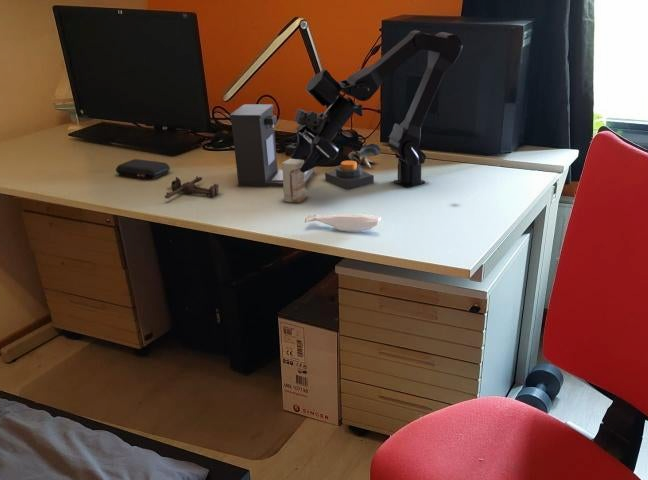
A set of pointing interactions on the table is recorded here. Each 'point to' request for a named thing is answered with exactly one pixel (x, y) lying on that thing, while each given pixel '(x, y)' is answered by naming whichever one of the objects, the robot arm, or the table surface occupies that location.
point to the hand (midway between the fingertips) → (296, 166)
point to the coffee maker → (257, 146)
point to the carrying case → (143, 168)
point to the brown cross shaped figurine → (191, 188)
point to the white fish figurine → (347, 221)
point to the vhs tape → (291, 149)
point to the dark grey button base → (349, 177)
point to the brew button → (348, 165)
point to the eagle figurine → (365, 154)
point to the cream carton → (293, 180)
